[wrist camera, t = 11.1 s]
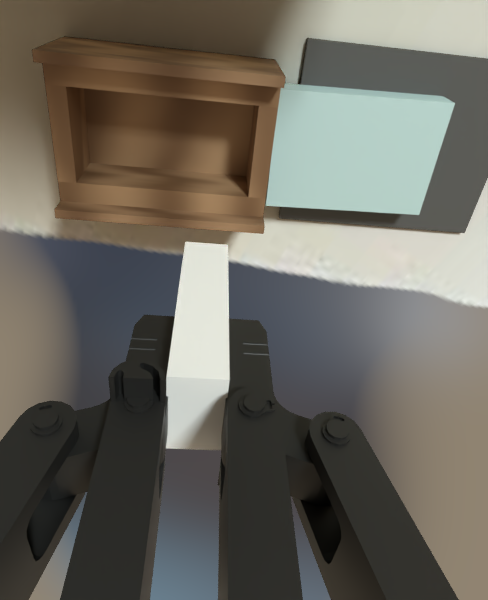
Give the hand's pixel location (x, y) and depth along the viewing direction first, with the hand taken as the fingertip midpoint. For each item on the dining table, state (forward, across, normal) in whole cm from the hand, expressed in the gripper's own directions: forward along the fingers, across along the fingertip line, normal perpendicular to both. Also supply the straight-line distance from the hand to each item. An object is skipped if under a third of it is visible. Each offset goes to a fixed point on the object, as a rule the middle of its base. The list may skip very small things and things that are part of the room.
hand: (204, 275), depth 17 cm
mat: (+21, +14, -1) cm, 25 cm away
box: (+21, -3, -1) cm, 21 cm away
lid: (+21, +10, -1) cm, 23 cm away
